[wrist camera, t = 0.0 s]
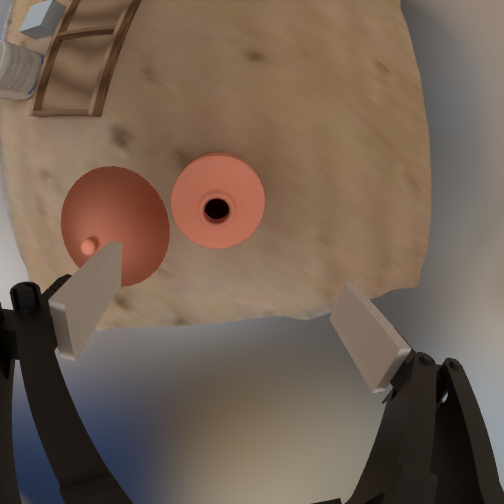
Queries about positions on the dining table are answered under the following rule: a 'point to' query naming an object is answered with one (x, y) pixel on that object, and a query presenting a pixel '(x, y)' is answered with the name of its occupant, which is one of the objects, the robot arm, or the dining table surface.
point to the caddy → (82, 58)
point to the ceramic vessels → (161, 212)
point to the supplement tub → (18, 71)
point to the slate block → (42, 19)
